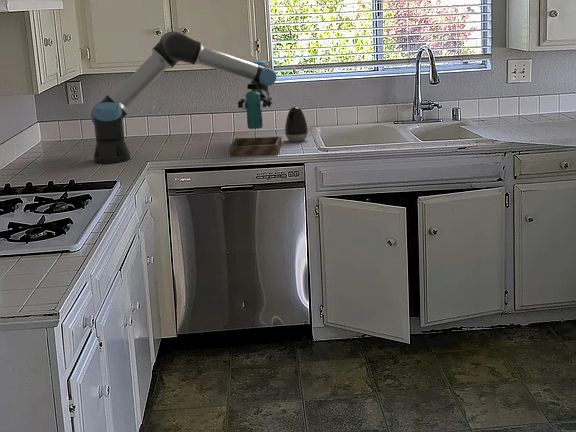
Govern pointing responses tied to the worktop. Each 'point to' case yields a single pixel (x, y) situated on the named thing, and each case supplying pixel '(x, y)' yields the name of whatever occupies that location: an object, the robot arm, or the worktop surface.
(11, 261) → the worktop surface
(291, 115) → the egg on grey base
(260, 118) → the beverage bottle
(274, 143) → the walnut tray
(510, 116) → the worktop surface
